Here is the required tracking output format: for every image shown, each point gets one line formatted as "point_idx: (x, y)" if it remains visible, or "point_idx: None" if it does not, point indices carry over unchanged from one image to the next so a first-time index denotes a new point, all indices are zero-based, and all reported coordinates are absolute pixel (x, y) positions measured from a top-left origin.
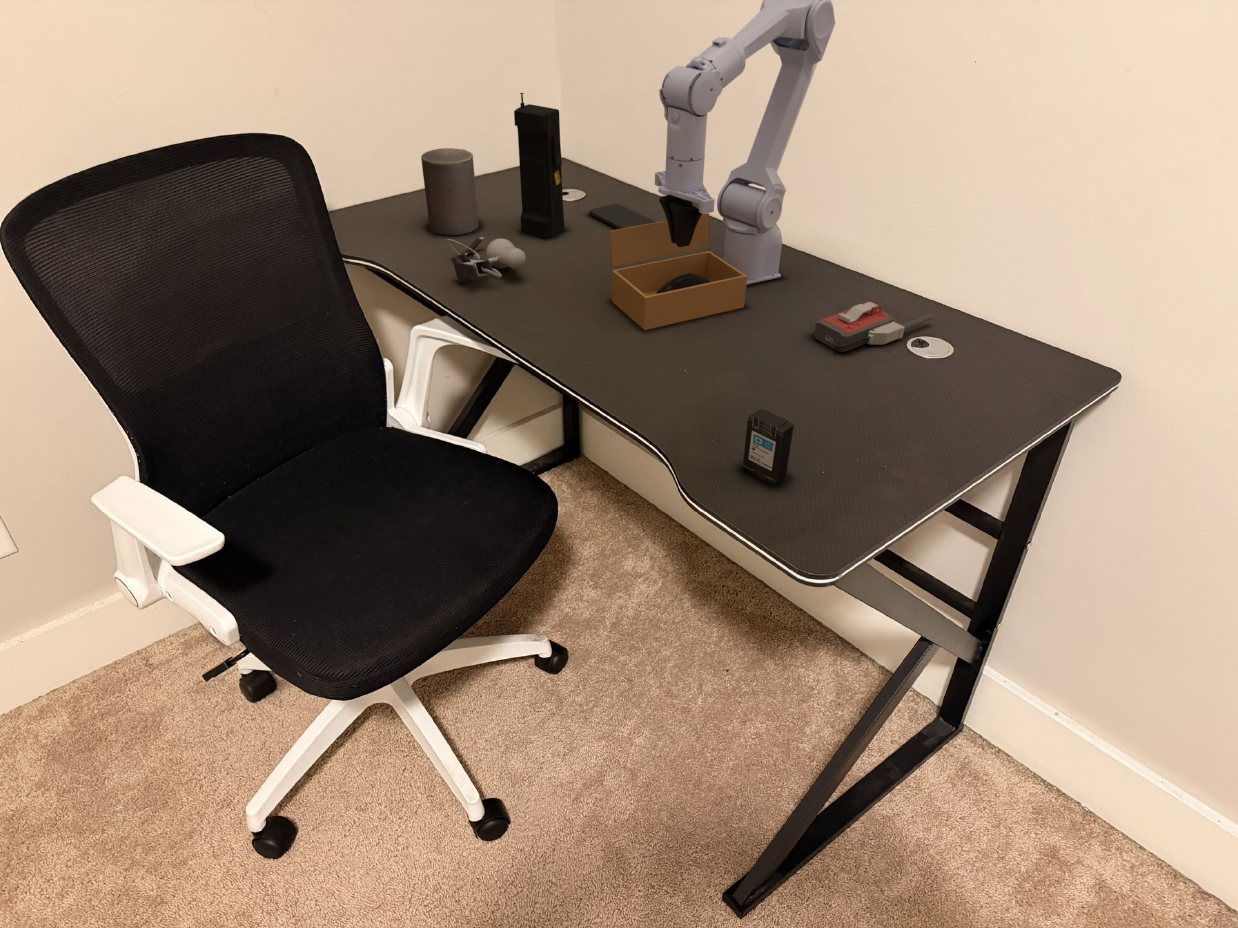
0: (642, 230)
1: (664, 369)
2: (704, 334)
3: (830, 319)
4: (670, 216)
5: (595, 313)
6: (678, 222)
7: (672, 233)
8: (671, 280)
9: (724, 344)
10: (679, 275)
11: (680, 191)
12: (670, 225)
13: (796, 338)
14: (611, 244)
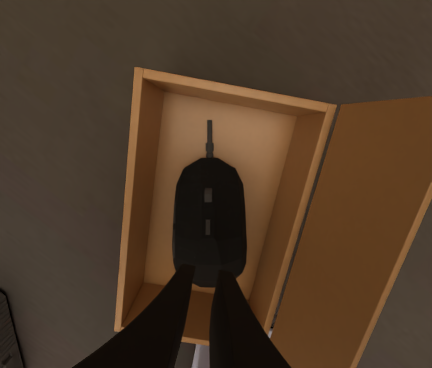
0: (378, 250)
1: (7, 10)
2: (92, 168)
3: None
4: (233, 364)
5: (282, 45)
6: (111, 339)
7: (221, 293)
8: (241, 226)
9: (45, 171)
10: (266, 262)
11: None
12: (230, 316)
13: (14, 272)
14: (403, 102)
